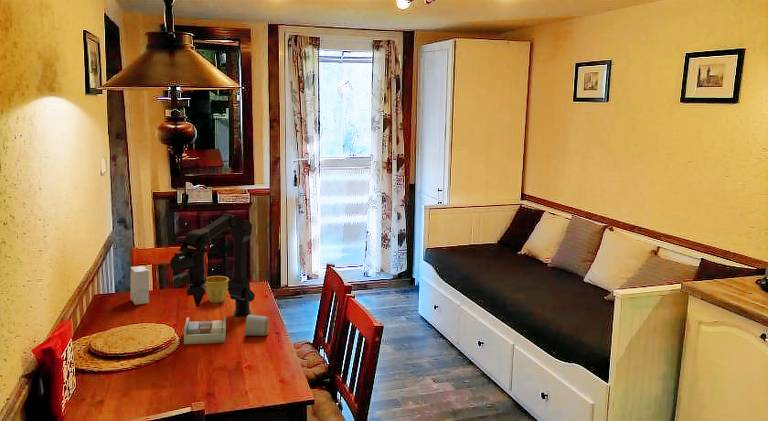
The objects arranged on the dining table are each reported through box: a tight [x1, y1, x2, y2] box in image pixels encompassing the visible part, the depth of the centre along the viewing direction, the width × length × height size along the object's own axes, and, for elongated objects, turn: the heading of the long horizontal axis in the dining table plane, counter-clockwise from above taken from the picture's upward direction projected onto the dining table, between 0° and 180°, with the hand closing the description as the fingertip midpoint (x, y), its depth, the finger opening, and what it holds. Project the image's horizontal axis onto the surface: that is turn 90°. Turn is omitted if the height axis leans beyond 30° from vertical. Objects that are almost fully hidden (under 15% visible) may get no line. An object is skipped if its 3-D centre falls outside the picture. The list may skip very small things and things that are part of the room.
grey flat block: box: [188, 321, 201, 335], centre depth 220 cm, size 8×4×2 cm, turn 13°
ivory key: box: [212, 319, 223, 333], centre depth 222 cm, size 8×4×2 cm, turn 13°
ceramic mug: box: [244, 314, 270, 337], centre depth 227 cm, size 11×8×8 cm
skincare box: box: [129, 265, 150, 306], centre depth 257 cm, size 8×6×15 cm
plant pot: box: [203, 275, 230, 304], centre depth 262 cm, size 10×10×10 cm
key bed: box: [183, 315, 227, 345], centre depth 221 cm, size 13×14×6 cm
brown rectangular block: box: [200, 320, 212, 334], centre depth 221 cm, size 8×4×2 cm, turn 13°
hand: (197, 306), depth 223 cm, fingers closed
